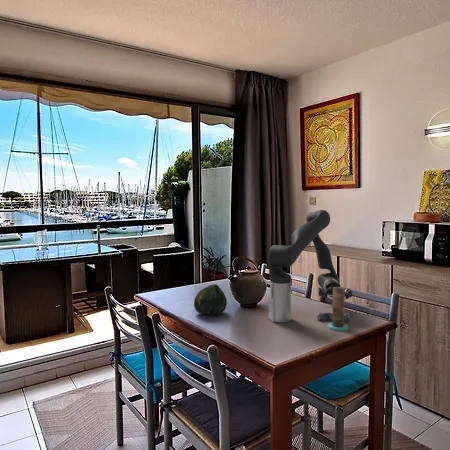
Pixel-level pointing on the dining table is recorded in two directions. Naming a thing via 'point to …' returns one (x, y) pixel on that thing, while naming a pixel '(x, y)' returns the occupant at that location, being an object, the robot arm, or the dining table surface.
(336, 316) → the walnut peg
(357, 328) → the dining table surface
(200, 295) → the squash
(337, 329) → the teal pad
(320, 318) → the zigzag rail
